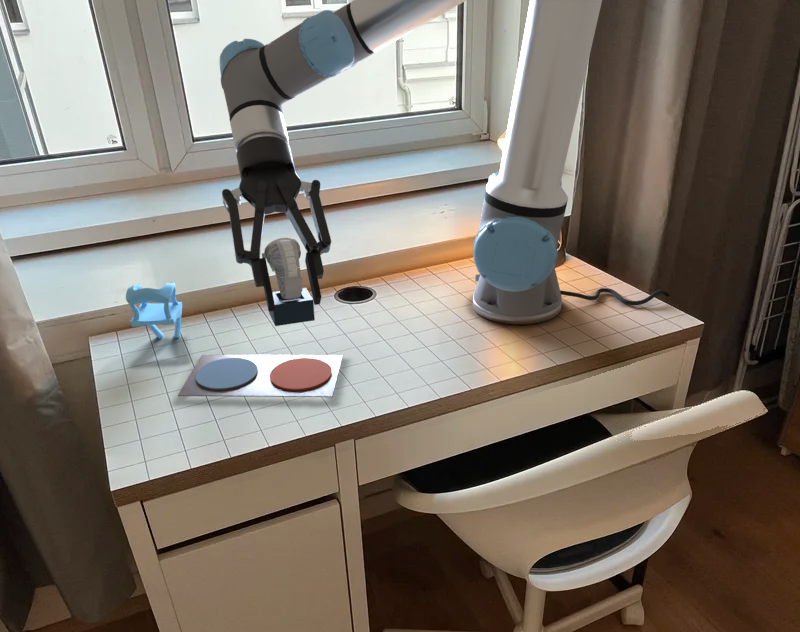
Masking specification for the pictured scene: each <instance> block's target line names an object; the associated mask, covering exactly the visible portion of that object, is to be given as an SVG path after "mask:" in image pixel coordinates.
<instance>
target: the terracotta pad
mask: <svg viewBox="0 0 800 632" xmlns="http://www.w3.org/2000/svg"><path fill="white" fill-rule="evenodd" d="M331 374H332V370H331V367H330V366H329V365H328V364H327V363H326V362H324V361H322V360H319V359H314V358H297V359H292V360H288V361H285V362H283V363H281V364H279V365H277V366H276V367H275V368H273V370H272V371H271V373H270V380H271V382H272V383H273V384H274V385H275V386H277V387H279V388H281V389H285V390H294V391H298V390H307V389H312V388H315V387H318V386H320V385H322V384H324V383H325V382H326V381H328V380H329V378H330V377H331Z"/></svg>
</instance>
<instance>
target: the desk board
mask: <svg viewBox="0 0 800 632" xmlns="http://www.w3.org/2000/svg"><path fill="white" fill-rule="evenodd" d="M225 358H243V359H247V360H250V361H252V362H254V363H255V364H256V365H257V368H258V373H257V375H256V377H255V378H254V379H253V380H252V381H250V382H249V383H247V384H245V385H243V386H240V387H237V388H233V389H228V390H211V389H207V388H204V387H202V386H200V385H199V384H198V383H197V382H196V377H195V376H196V373H197V371H198V370H199V369H200V368H201V367H203V366H204V365H206V364H208V363H210V362H213V361H216V360H219V359H225ZM297 358H314V359H319V360H322V361H324V362H326V363H327V364H328V365H329V366H330V367H331V370H332V374H331V377H330V378H329V380H328V381H326V382H325V383H324V384H322V385H320V386H318V387H315V388H312V389H307V390H298V391H294V390H285V389H281V388H279V387H277V386H275V385H274V384H273V383H272V382H271V380H270V373H271V371H272V370H273V368H275V367H276V366H277V365H279V364H281V363H283V362H285V361H288V360H292V359H297ZM343 358H344V355H343V354H201V356H200V358H199V359H198V362H197V363H196V364H195V366H194V368H193V369H192V371H191V373H190V375H189V376H188V378H187V380H186V381H185V383H184V384H183V386H182V388H181V389H180V391H179V393H178V394H177V396H178V397H289V398H290V397H292V398H293V397H300V398H302V397H304V398H305V397H307V398H311V397H313V398H319V397H320V398H332V397H334V394H335V390H336V385H337V383H338V377H339V373H340V370H341V366H342V361H343Z"/></svg>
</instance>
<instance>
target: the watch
mask: <svg viewBox="0 0 800 632" xmlns="http://www.w3.org/2000/svg"><path fill="white" fill-rule="evenodd" d="M263 251H264V252H262V253H261V258H266V263H267V264H268V265H269V267H270V269H271V271H272V272H274V274H275V278H276V284H277V287H278V291H272V293H273V298H274V303H275V304H274V311H268V313H269V316H270V318H271V320H272V323H273V324H274V327H280V326H285V325H287V326H288V325H293V324H301V323H306V322H307V323H308V322H313V321H315V319H316V318H315V305H314V300H313V296H312V294H310V291H309V290H308V288H307V287H303V277H302V273H301V265H300V264H301V263H300V258H301V255H302V251H301V245H300V244H299V242H298V241H297V240H296V239H295V238H292V237H280V238H277V239H274V240H272V241H270V242H269V243H267V245H266V246H265V248H264V250H263Z"/></svg>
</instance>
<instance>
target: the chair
mask: <svg viewBox="0 0 800 632" xmlns="http://www.w3.org/2000/svg"><path fill="white" fill-rule="evenodd" d="M176 289H177V288H176V283H175V282H173V281H172V282H170V283H169V282H166V283H164V284H163V286H162V287H161V288H152V287H144V288H143V285H142V283H138V284H133V285H131V286H129V287H128V288H127V289H126V293H125V300H126V302H127V304H128V305H129V307H130V308H131V309H132V312H133V316H132V318H131V319H130V321H129V323H130V327H132V328H134V327H144V326H147V327H148V329H149V330H150V331H151V332H152V333H153V334H154V335H155V336H156V338H157V339H159V340H161V339H163V338H164V337H165V335H164V333H163V332H162V331H161V330H160V329H159V328H158V326H160V325H161V326H172V325H173V326H174V335H173V338H175V339H179V338H180V337H181V329H182V328H181V327H182V311H183V307H184V306H183V302H182V301H178V300H177V297H176V291H177V290H176ZM151 302H152V303H151ZM138 304H139V305H138ZM136 305H138V307H137V306H136ZM156 325H157V326H156Z"/></svg>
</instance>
